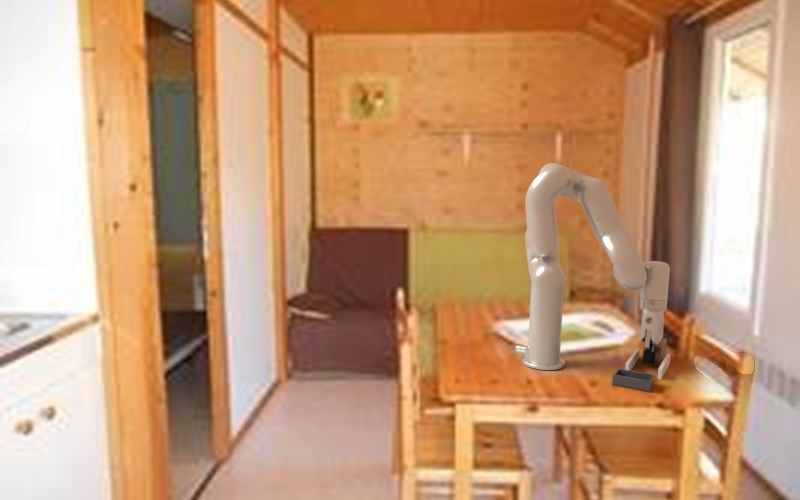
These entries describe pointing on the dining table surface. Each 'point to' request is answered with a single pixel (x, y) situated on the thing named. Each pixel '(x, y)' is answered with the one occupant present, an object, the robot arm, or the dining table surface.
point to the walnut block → (660, 352)
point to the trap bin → (633, 380)
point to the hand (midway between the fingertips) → (648, 363)
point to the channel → (635, 357)
